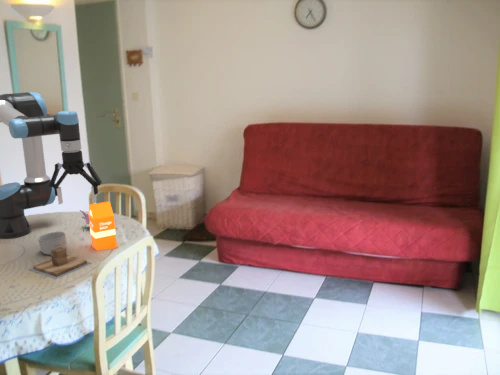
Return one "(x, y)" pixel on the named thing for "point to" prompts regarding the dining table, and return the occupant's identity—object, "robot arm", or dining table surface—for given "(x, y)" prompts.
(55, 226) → the dining table surface
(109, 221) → the orange juice
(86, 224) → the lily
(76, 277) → the dining table surface
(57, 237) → the teacup
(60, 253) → the lid
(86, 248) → the dining table surface
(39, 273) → the mat
